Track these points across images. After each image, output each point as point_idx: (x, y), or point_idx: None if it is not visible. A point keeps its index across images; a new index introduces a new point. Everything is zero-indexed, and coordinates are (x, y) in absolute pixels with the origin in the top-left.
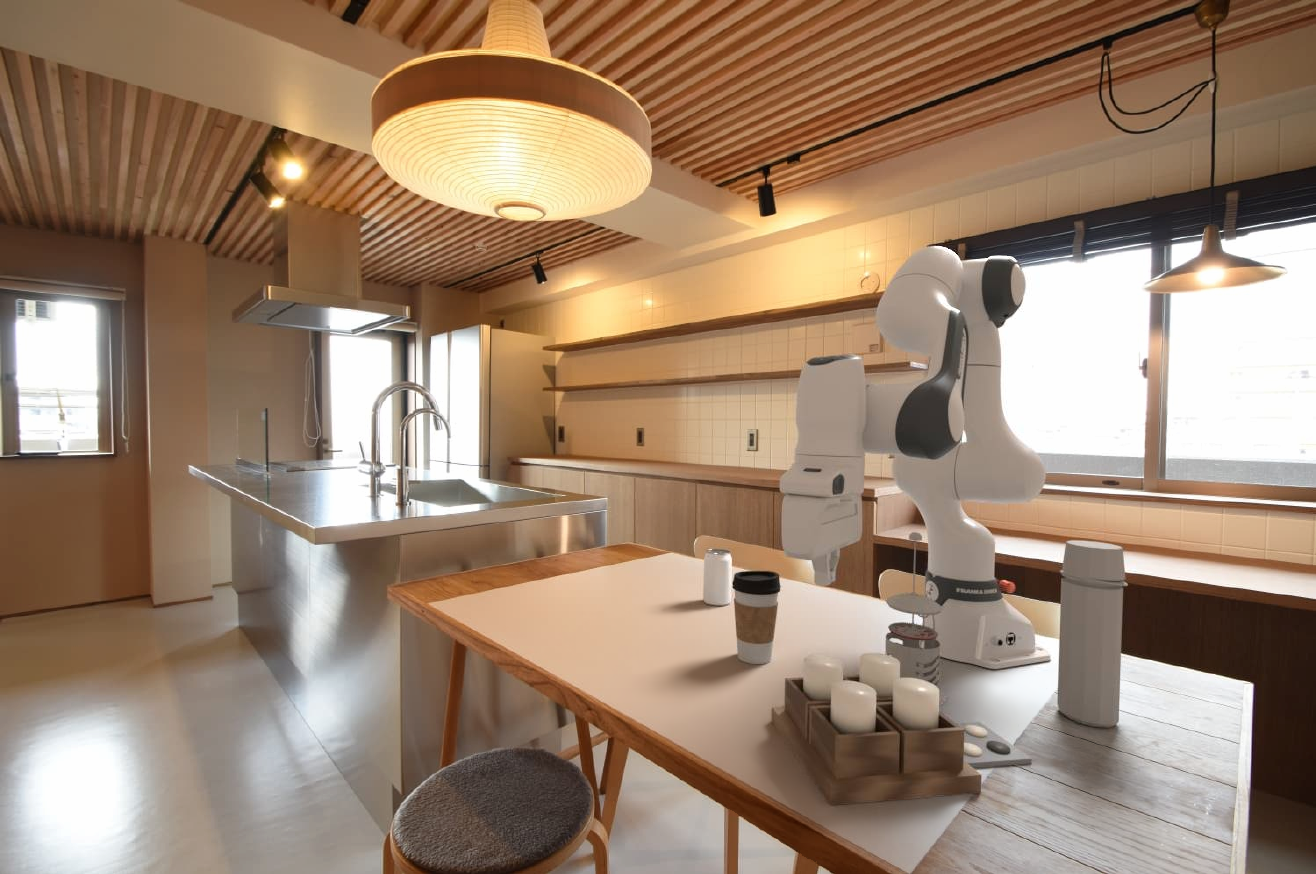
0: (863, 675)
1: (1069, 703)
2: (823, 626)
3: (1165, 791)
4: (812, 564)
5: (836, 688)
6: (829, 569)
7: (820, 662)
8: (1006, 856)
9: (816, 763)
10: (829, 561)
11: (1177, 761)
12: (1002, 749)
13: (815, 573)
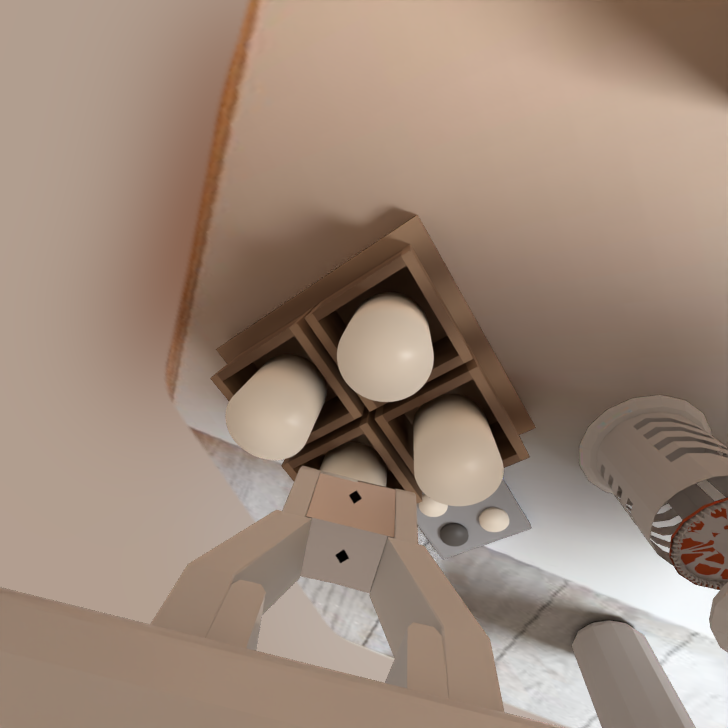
0: (430, 424)
1: (599, 645)
2: None
3: None
4: (236, 535)
5: (253, 394)
6: (284, 590)
7: (381, 352)
8: (246, 496)
9: (260, 325)
10: (400, 616)
11: (510, 672)
12: (446, 538)
13: (288, 503)
